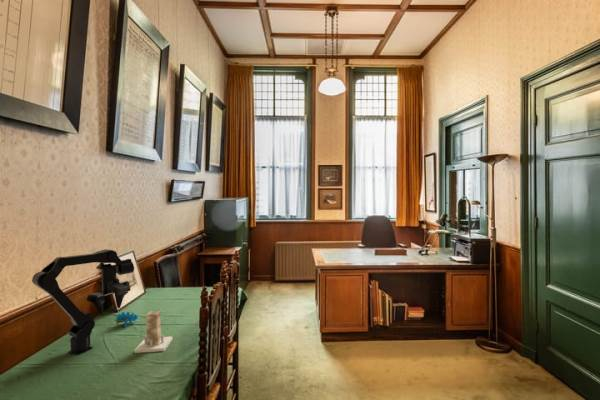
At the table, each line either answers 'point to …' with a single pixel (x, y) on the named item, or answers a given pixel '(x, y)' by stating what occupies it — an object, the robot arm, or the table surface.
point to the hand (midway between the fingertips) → (110, 311)
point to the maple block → (153, 327)
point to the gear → (125, 318)
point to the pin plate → (153, 348)
